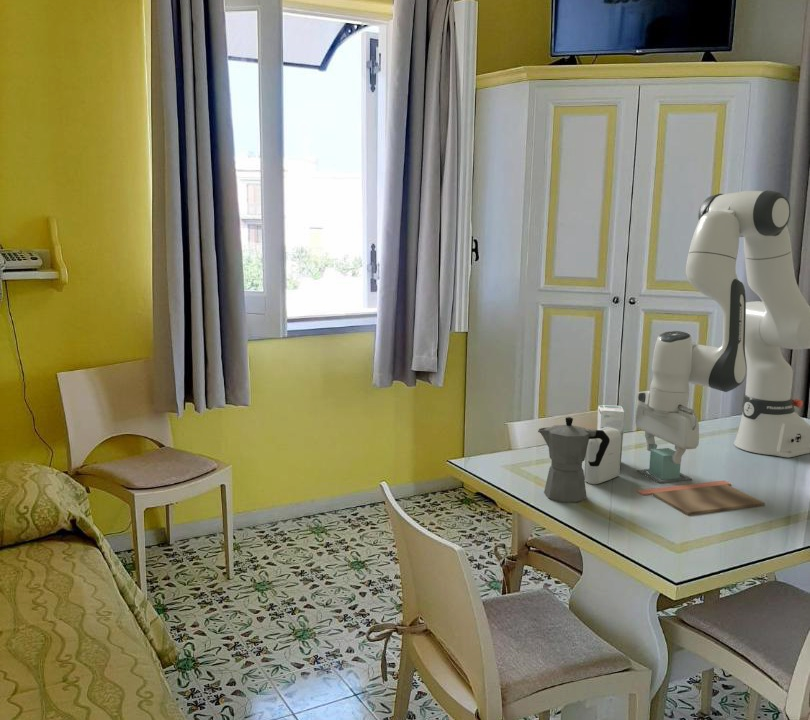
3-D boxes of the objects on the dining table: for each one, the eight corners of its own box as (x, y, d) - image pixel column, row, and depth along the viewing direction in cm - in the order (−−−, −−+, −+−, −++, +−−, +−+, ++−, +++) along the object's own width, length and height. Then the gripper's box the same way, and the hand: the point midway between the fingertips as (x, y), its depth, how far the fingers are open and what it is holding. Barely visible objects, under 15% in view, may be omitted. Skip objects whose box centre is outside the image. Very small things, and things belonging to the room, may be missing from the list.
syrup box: (617, 460, 203) (621, 404, 201) (621, 467, 198) (625, 410, 195) (594, 459, 204) (597, 403, 201) (597, 466, 198) (601, 409, 195)
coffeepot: (533, 499, 175) (536, 420, 171) (537, 485, 184) (540, 409, 180) (605, 507, 171) (610, 426, 168) (606, 492, 180) (611, 415, 177)
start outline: (668, 467, 198) (668, 466, 198) (691, 479, 189) (692, 478, 189) (637, 471, 195) (637, 470, 195) (659, 483, 186) (659, 482, 186)
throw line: (724, 481, 188) (724, 480, 188) (731, 485, 186) (731, 483, 186) (636, 491, 181) (636, 490, 181) (642, 495, 179) (642, 494, 178)
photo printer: (596, 486, 184) (599, 434, 182) (581, 481, 187) (583, 430, 185) (621, 476, 191) (625, 426, 188) (606, 472, 194) (609, 423, 192)
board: (726, 487, 185) (726, 484, 185) (764, 505, 173) (764, 502, 173) (652, 495, 178) (652, 493, 178) (687, 515, 167) (687, 512, 167)
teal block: (666, 471, 195) (668, 447, 194) (679, 478, 191) (681, 454, 189) (648, 473, 194) (650, 449, 192) (661, 480, 189) (663, 455, 188)
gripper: (708, 410, 180) (703, 469, 182) (654, 390, 199) (649, 444, 202) (685, 411, 178) (679, 471, 180) (632, 391, 197) (628, 445, 200)
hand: (663, 456), depth 191 cm, fingers open, 8 cm apart
